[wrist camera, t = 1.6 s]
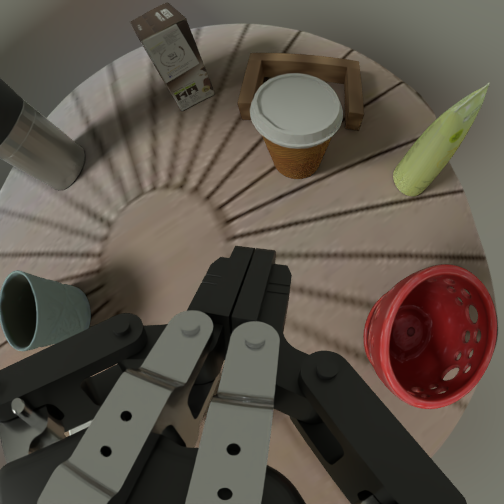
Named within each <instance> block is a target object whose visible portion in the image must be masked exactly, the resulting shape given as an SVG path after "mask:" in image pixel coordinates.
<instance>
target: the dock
mask: <svg viewBox="0 0 504 504" xmlns="http://www.w3.org/2000/svg"><path fill="white" fill-rule="evenodd" d="M290 73H300V74H307V75H310V76H314V77H317V78H319V79H321V80H323V81H325V82H333V83H341V84H344V92H345V129H351V130H357V131H359V128H360V125H361V122H362V119H363V116H364V108H363V95H362V85H361V75H360V66H359V61H353V60H347V59H340V58H332V57H324V56H314V55H302V54H285V53H250V57H249V60H248V64H247V68H246V72H245V75H244V79H243V83H242V87H241V91H240V95H239V99H238V107H239V110H240V114H241V117H242V120H251V117H250V107H251V102H252V100H253V99H254V96H255V93H256V92H257V90H258V89H259V87H260V86H261V85H262V84H263V80H264V77H276V76H279V75H283V74H290Z"/></svg>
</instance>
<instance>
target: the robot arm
mask: <svg viewBox="0 0 504 504" xmlns="http://www.w3.org/2000/svg"><path fill="white" fill-rule="evenodd" d="M0 158H1V159H2V160H4V161H6V162H8V163H10V164H11V165H13V166H14V167H16V168H18V169H20V170H21V171H23V172H25V173H27V174H28V175H30V176H32V177H34V178H35V179H37V180H39V181H41V182H42V183H44V184H46V185H48V186H50V187H51V188H53V189H55V190H63V189H66V188H67V187H69V186H70V185H71V184H72V183H73V182H74V181H75V179H76V178H77V177H78V175H79V174H80V172H81V170H82V167H83V164H84V160H85V153H84V150H83V148H82V147H81V146H79V145H78V144H77V143H76V142H74V141H73V140H72V139H71V138H70V137H68V136H67V135H66V134H65V133H63V132H62V131H61V130H60V129H59V128H57V127H56V126H55V125H54V124H52V123H51V122H50V121H49V120H48V119H46V118H45V117H44V116H43V115H42V114H40V113H39V112H38V111H37V110H35V109H34V108H33V107H32V106H31V105H29V104H28V103H27V102H26V101H24V100H23V99H22V98H21V97H20V96H18V95H17V94H16V93H15V92H14V91H13V90H12V89H11V88H10V87H9V86H8V85H7V84H6V83H5V82H4V81H3V80H1V79H0ZM275 257H276V251H275V250H267V249H258V248H256V250H255V248H250V247H242V246H235V248H234V250H233V252H232V254H231V256H230V258H224V257H220V258H219V259H217V260H216V261H215V262H214V263H212V264H211V265H210V267H209V269H208V271H207V273H206V275H205V277H204V279H203V281H202V283H201V284H200V286H199V288H198V290H197V292H196V294H195V296H194V298H193V300H192V302H191V304H190V306H189V308H188V309H187V311H184V312H181V313H179V314H177V315H176V316H174V317H173V318H172V319H171V320H170V322H169V323H168V324H165V325H149V326H143V323H142V321H141V319H140V318H139V317H138V316H136V315H134V314H130V313H123V314H119V315H116V316H114V317H112V318H109V319H107V320H105V321H103V322H101V323H99V324H97V325H95V326H93V327H90V328H88V329H86V330H84V331H82V332H80V333H78V334H76V335H74V336H71V337H69V338H67V339H65V340H63V341H61V342H59V343H57V344H54V345H52V346H50V347H48V348H46V349H44V350H42V351H40V352H38V353H35V354H33V355H31V356H29V357H27V358H25V359H23V360H21V361H19V362H17V363H14V364H12V365H10V366H8V367H6V368H4V369H2V370H0V439H1V443H2V447H3V451H4V455H5V459H6V462H7V464H6V465H5V466H3V467H2V468H1V470H0V504H306V503H305V502H304V500H303V498H302V497H301V495H300V494H299V492H298V491H297V489H296V488H295V486H294V485H293V484H292V483H291V482H290V481H289V480H288V479H287V478H286V477H285V476H284V475H283V474H281V473H280V472H278V471H277V470H275V469H274V468H272V467H270V466H268V465H267V458H268V451H269V443H270V435H271V426H272V418H273V408H274V409H276V410H279V411H281V412H283V413H285V414H287V415H289V416H290V419H291V420H292V422H293V423H294V425H295V426H296V428H297V429H298V431H299V432H300V434H301V435H302V437H303V438H304V440H305V441H306V443H307V444H308V445H309V447H310V448H311V450H312V451H313V453H314V454H315V455H316V457H317V458H318V460H319V461H320V462H321V464H322V465H323V467H324V468H325V469H326V471H327V472H328V473H329V475H330V476H331V478H332V479H333V480H334V482H335V483H336V484H337V486H338V487H339V488H340V490H341V491H342V492H343V494H344V495H345V496H346V498H347V499H348V500H349V501H350V503H351V504H467V503H466V500H465V498H464V497H463V495H462V494H461V493H460V492H459V491H458V490H457V488H456V487H455V486H454V485H453V484H452V482H451V481H450V480H449V479H448V478H447V477H446V476H445V474H444V473H443V472H442V471H441V470H440V469H439V468H438V466H437V465H436V464H435V463H434V462H433V460H432V459H431V458H430V457H429V456H428V455H427V453H426V452H425V451H424V450H423V449H422V448H421V446H420V445H419V444H418V443H417V442H416V441H415V439H414V438H413V437H412V436H411V435H410V434H409V432H408V431H407V430H406V429H405V428H404V427H403V426H402V424H401V423H400V422H399V421H398V420H397V419H396V417H395V416H394V415H393V414H392V413H391V412H390V410H389V409H388V408H387V407H386V406H385V405H384V403H383V402H382V401H381V400H380V399H379V398H378V396H377V395H376V394H375V393H374V392H373V391H372V390H371V388H370V387H369V386H368V385H367V384H366V383H365V381H364V380H363V379H362V378H361V377H360V376H359V374H358V373H357V372H356V371H355V370H354V369H353V367H352V366H351V365H350V364H349V363H348V362H347V361H346V359H344V358H343V357H342V356H341V355H339V354H337V353H334V352H331V351H318V352H315V353H312V354H310V355H308V354H306V353H304V352H301V351H299V350H297V349H295V348H294V347H292V346H291V345H290V344H289V343H288V342H287V341H286V339H285V337H284V334H283V331H284V325H285V319H286V314H287V308H288V301H289V293H290V285H291V276H292V275H291V273H290V270H289V268H288V266H286V265H278V264H275ZM224 360H225V363H224V367H223V371H222V376H221V380H220V384H219V388H218V392H217V394H216V395H214V396H213V397H212V395H213V393H214V391H215V388H216V386H217V384H218V381H219V379H220V370H221V367H222V364H223V361H224ZM115 364H117V365H115ZM113 365H115V366H113ZM111 366H113V367H111ZM109 367H111V368H109ZM107 368H109V369H107ZM105 369H107V370H105ZM103 370H105V371H103ZM101 371H103V372H101ZM99 372H101V373H99ZM97 373H99V374H97ZM94 374H97V375H95V376H92V375H94ZM90 376H92V377H90ZM211 397H212V399H211ZM210 400H211V402H210ZM209 402H210V405H209V409H208V413H207V417H206V421H205V425H204V429H203V433H202V437H201V441H200V445H199V448H194V447H195V445H196V442H197V439H198V436H199V428H200V423H201V420H202V418H203V416H204V413H205V411H206V409H207V407H208V404H209ZM91 420H93V421H92V422H91V424H90V426H89V427H87V428H84V429H82V430H80V431H78V432H76V433H74V434H72V435H70V436H68V437H66V436H65V434H64V432H67V431H69V430H71V429H73V428H76V427H78V426H80V425H82V424H85V423H87V422H89V421H91Z"/></svg>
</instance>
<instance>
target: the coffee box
mask: <svg viewBox="0 0 504 504" xmlns="http://www.w3.org/2000/svg"><path fill="white" fill-rule="evenodd" d="M130 23H131V25H132V27H133V29H134V31H135V33H136V34H137V36H138V38H139V40H140V42H141V43H142V45H143V47H144V49H145V50H146V52H147V54H148V55H149V57H150V59H151V61H152V62H153V64H154V66H155V67H156V69H157V71H158V72H159V74H160V76H161V78H162V79H163V81H164V83H165V84H166V86H167V88H168V89H169V91H170V93H171V94H172V96H173V98H174V99H175V101H176V103H177V104H178V106H179V108H180V110H181V111H183V110H185V109H187V108H189V107H191V106H193V105H195V104H197V103H198V102H200V101H202V100H204V99H206V98H208V97H211V96H213V95H214V90H213V87H212V85H211V82H210V79H209V77H208V74H207V72H206V69H205V67H204V64H203V61H202V59H201V56H200V53H199V51H198V48H197V46H196V43H195V41H194V38H193V35H192V33H191V30H190V28H189V25H188V23H187V20H186V18H185V17H184V16H183V15H181V13H179V12H178V11H177V10H176V9H175V8H173V7H172V6H171V5H170V4H169V3H165V4H162V5H160V6H158V7H156V8H154V9H153V10H150V11H149V12H147V13H145V14H144V15H142V16H140V17H138V18H136V19H135V20H133V21H131V22H130Z"/></svg>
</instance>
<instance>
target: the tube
mask: <svg viewBox="0 0 504 504" xmlns="http://www.w3.org/2000/svg"><path fill="white" fill-rule="evenodd" d="M489 84H490V83H488V84H487V85H486V86H485V87H483V88H481V89H479V90H477V91H475V92H473V93H471V94H470V95H468V96H466V97H465V98H463V99H462V100H461V101H459V102H458V103H456V104H455V105H454V106H452V107H451V108H450V109H448V110H447V111H446V112H444V113H443V114H442V115H441V116H440V117H439V118H438V119H436V120H435V121H434V122H433V123H432V124H431V125H430V126H429V127H428V128H427V129H426V130H425V132H424V133H423V134H422V135H421V136H420V137H419V138H418V140H417V141H416V142H415V143H414V145H413V146H412V147H411V148H410V150H409V151H408V152H407V153H406V155H405V156H404V158H403V159H402V160H401V161H400V163H399V164H398V166H397V167H396V168H395V170H394V174H393V179H394V183H395V185H396V187H397V188H398V189H399V190H400V191H401V192H402V193H403V194H405V195H408V196H417V195H419V194H421V193H422V192H423V191H424V190H425V189H426V187H427V186H428V185H429V184H430V183H431V182H432V181H433V180H434V179H435V178H436V176H437V175H438V174H439V173H440V172H441V170H442V169H443V168H444V167H445V165H446V164H447V163H448V161H449V160H450V159H451V157H452V156H453V155H454V153H455V152H456V150H457V149H458V147H459V146H460V144H461V143H462V141H463V140H464V138H465V136H466V134H467V133H468V131H469V129H470V128H471V126H472V124H473V122H474V120H475V118H476V116H477V114H478V112H479V110H480V108H481V106H482V104H483V101H484V98H485V95H486V92H487V88H488V86H489Z"/></svg>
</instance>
